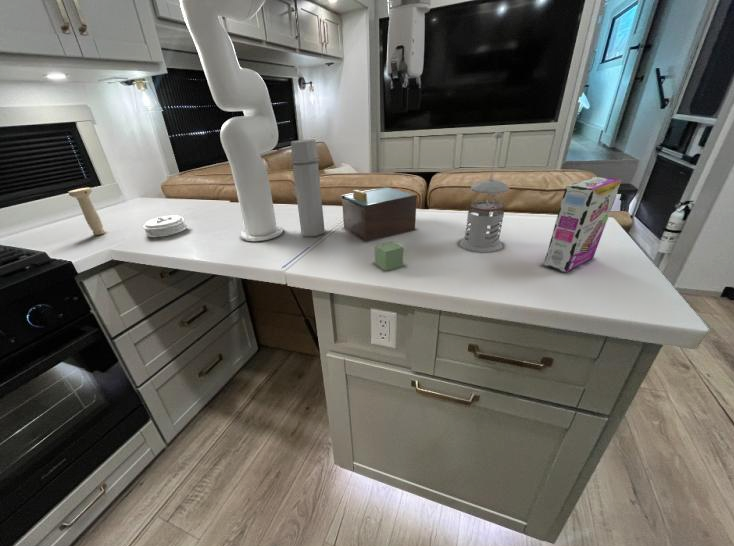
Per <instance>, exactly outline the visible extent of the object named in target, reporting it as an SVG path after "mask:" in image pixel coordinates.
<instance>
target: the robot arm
mask: <svg viewBox="0 0 734 546" xmlns="http://www.w3.org/2000/svg"><path fill="white" fill-rule="evenodd" d="M266 1H267V0H179V3H180V8H181V13H182V15H183V18H184V22H185V24H186V26H187V29H188V31H189V33H190V36H191V38H192V40H193V43H194V46H195V48H196V51H197V53H198V57H199V60H200V63H201V67H202V70H203V72H204V75H205V78H206V80H207V85H208V87H209V90H210V93H211V96H212V99H213V101H214V102H215V104H216V106H217V107H218V108H219V109H220V110H221V111H224V112H242V113H243V115H241V116H234V117H231V118H229V119H227V120H226V121H225V122H224V123H223V124H222V126H221V129H220V133H219V137H220V143H221V145H222V149H223V151H224V153H225V155H226V158H227V160H228V163H229V166H230V170H231V174H232V178H233V183H234V186H235V191H236V194H237V195H236V196H237V200H238V204H239V209H240V213H241V218H242V223H243V227H244V230H242V231H241V233H240V238H241V239H242V240H243V241H247V242H262V241H263V242H265V241H269V240H272V239H275V238H277V237H279V236H281V235H282V234H283V232H284V231H283V227H282V226H281V225H278V224H277V219H276V213H275V209H274V201H273V196H272V190H271V184H270V178H269V173H268V170H267V169H268V168H267V167H266V164H265V162H264V161H263V159H262V157H261V155H260V154H264V153H268V152H270V151H273V149H274V148H276V146H277V145H278V141H279V129H278V124H277V120H276V116H275V113H274V109H273V105H272V101H271V97H270V94H269V90H268V87H267V85H266V82H265V81H264V80H263V77H262V76H260V74H259V73H258V72H257V71H255V70H253V69H250V68H245V67H241V66H240V65H241V64H240V63H239V61H238V57H237V55H236V54H237V53H236V51H235V47H234V44H233V41H232V38H231V37H230V35H229V33H228V31H227V29H226V28H225V27H224V25H223V23H222V22H221V19H220V17H221V18H225V19H229V20H234V21H237V22H247V21H249V20H251V19H252V18H253V17H255V15H256V14H257V13H258V12H259V11H260V9H261V8H262V6H263V5H264V4H265V2H266ZM430 10H431V0H387V16H388V17H389V20H388V30H387V50H386V76H387V77H388V78H389V79H390V113H391V114H400V113H407V112H408V111H418V110H420V109H421V93H422V92H421V91H422V81H421V79H422V75H423V71H424V62H425V61H424V60H425V37H426V36H425V29H426V26H425V25H426V23H425V22H426V21H425V19H426V18H425V17H426V16H425V14H426V13H429V12H430Z"/></svg>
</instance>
